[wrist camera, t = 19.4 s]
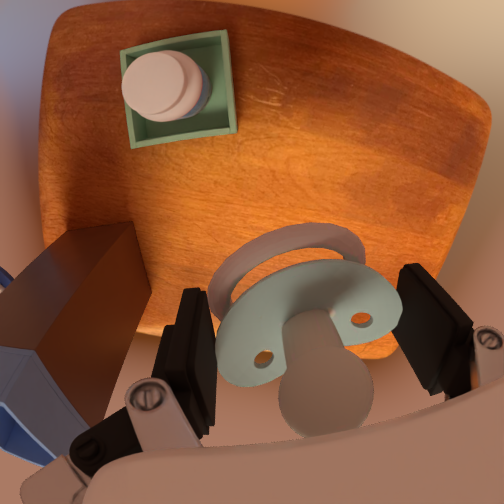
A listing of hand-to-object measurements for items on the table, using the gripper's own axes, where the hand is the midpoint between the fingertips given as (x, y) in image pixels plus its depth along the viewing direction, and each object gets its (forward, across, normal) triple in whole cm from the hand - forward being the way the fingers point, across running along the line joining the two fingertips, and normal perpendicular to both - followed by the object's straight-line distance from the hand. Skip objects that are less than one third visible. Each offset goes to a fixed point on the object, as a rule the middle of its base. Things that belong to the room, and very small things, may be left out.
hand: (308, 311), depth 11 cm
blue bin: (+24, +21, +9) cm, 33 cm away
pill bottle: (+24, +7, -10) cm, 27 cm away
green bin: (+24, +7, -10) cm, 27 cm away
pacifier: (+2, 0, 0) cm, 2 cm away
